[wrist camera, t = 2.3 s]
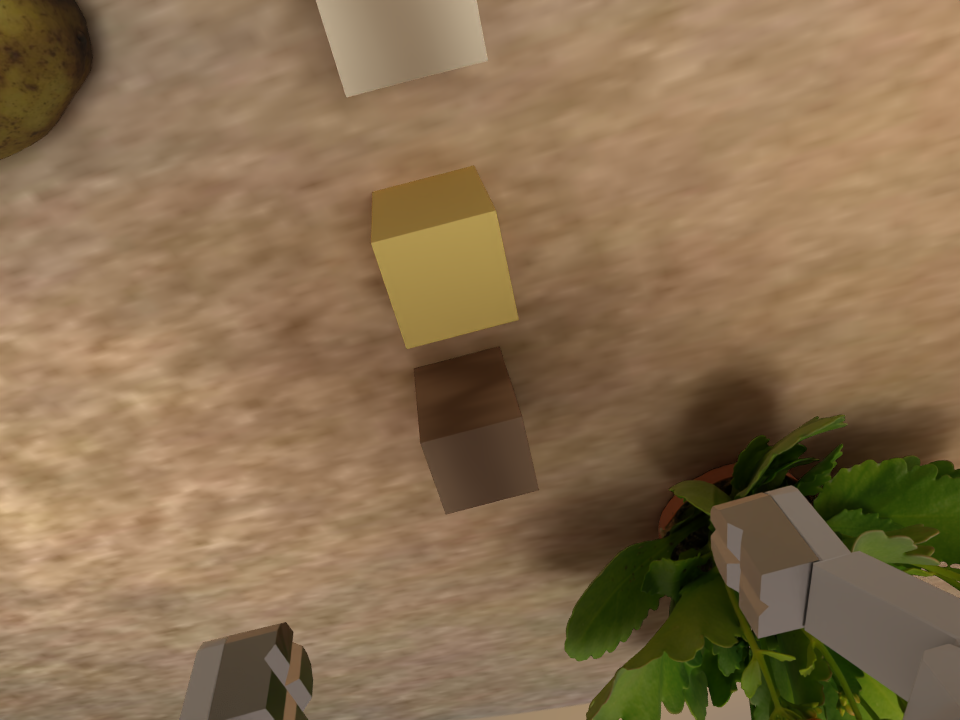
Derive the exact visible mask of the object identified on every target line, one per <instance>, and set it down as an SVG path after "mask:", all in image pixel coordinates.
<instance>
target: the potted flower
mask: <svg viewBox="0 0 960 720" xmlns="http://www.w3.org/2000/svg"><path fill="white" fill-rule="evenodd" d="M844 417H845V415H837V416H833V417H829V418H821V419H818V418H819V417H818V416H816V417H814V418H813V419H811V420H810V421H808V422H807V423H805V424H803V425H802V426H800V427H799V428H797V429H796V430H794V431H793V432H791V433H790V434H788V435H787V436H786V437H784V438H783V439H781V440H780V441H779V442H777V443H776V444H775V445H774V446H768V444H767V442H769V440H770V439H766V436H764V435H760V436H757V437H756V438H754V439H753V440H752V441H751V442H750V443H749V444H748V446H747V447H746V449H745V450H743V451H741V453H740V454H739V457H738V461H737V463H734V464H730V465H725V466H722V467H720V468H717V469H712V470H710V471H708V472H707V473H705V474H703V475H702V476H700V477H698V478H695V479H694V480H687V481H682V482H680V483H678V484H676V485H675V486H673V487H671V488H670V489H669V491H671V492H673V493H674V495H675V496H674V497H673V498H672V499H671V500H670V501H669V503H668V504H667V506H666V507H665V509H664V510H663V512H662V514H661V517H660V522H659V539H655V540H652V541H644V542H641V543H636V544H633V545H630V546H628V547H627V548H625V549H624V550H622V551H620V552H619V553H618V554H617V555H616V556H615V557H614V558H613V559H612V560H611V561H610V563H608V564H607V565H606V567H605V568H604V569H603V570H602V571H601V572H600V573H599V575H598V576H597V577H596V578H595V579H594V580H593V581H592V582H591V584H590V585H589V586H588V588H587V589H586V590H585V592H584V593H583V595H582V596H581V597H580V599H579V600H578V601H577V603H576V605H575V607H574V609H573V611H572V615H571V617H570V618H569V620H568V623H567V627H566V641H565V652H566V653H567V654H568V655H569V656H570V658H575V659H576V660H577V661H583V660H587V659H588V658H589V657H590V656H592V657H593V658H594V659H597V658H600V657H601V656H602V655H603V654H604V653H605V651H606V650H607V651H608V652H609V653H611V652H613V651H614V650H615V649H616V647H617V646H618V644H619V642H620V641H622V642H626V641H627V639H628V638H629V636H630V635H631V633H632V630H633V629H635V630H638V629H640V627H641V625H642V622H643V620H644V619H645V618H646V617H647V616H648V610H649V609H650V608H651V609H653V610H657V609H658V606H659V599H660V598H662V597H664V596H665V595H666V596H667V597H671V602H670V609H669V618H668V619H667V620H666V622H665V623H664V624H663V626H662V627H661V628H660V629H659V630H658V632H657V633H656V634H655V635H654V636H653V637H652V639H651V640H650V641H649V642H648V643H647V644H646V646H645V647H644V648H643V649H642V650H640V651H639V652H638V653H637V654H636V655H635V656H634V657H632V658H631V659H630V660H629V661H628V662H627V663H626V664H624V665H623V666H622V667H621V668H619V669H618V670H617V672H616V673H615V676H614V677H613V678H612V679H611V680H610V682H609V683H608V684H607V685H606V686H605V687H604V688H603V689H602V690H601V692H600V693H599V694H598V695H597V696H596V697H595V698H594V699H593V700H592V702H591V703H590V706H589V711H588V712H587V713H586V717H587V719H586V720H619V718H622V720H660V718H661V702H663V703H664V706H665V707H666V709H667V711H668V712H669V713H671V714H679V713H680V712H682V710H683V707H684V702H686V704H687V705H688V707H689V710H690V712H691V714H692V715H693V716H694V717H695V719H696V720H705V716H706V707H707V706H708V691H707V687H708V688H709V692H710V695H711V700H712V703H713V706H717V707H722V706H724V705H725V704H726V703H727V702H728V700H729V699H730V696H731V694H732V693H733V692H735V691H737V686H736V682H741V688H742V689H743V690H744V691H745V694H746V696H747V697H748V698H749V701H750V710H751V718H752V720H902V719H903V716H904V713H905V710H906V707H907V704H908V702H907V701H906V700H904V699H903V698H901V697H900V696H899V695H897V694H896V693H894V692H893V691H891V690H890V689H888V688H887V687H886V686H884V685H883V684H881V683H880V682H878V681H877V680H876V679H874V678H873V677H871V676H870V675H868V674H867V673H865V672H864V671H863V670H861V669H860V668H858V667H857V666H855V665H854V664H853V663H851V662H850V661H848V660H847V659H845V658H844V657H842V656H841V655H840V654H838V653H837V652H835V651H834V650H832V649H831V648H830V647H828V646H827V645H825V644H824V643H822V642H821V641H819V640H818V639H817V638H815V637H814V636H812V635H811V634H809V633H808V632H807V631H805V630H804V629H805V627H804V628H800V629H796V630H792V631H788V632H783V633H779V634H775V635H771V636H767V637H763V638H759V639H758V638H757V636H756V635H755V633H754V631H753V629H752V631H751V626H750V624H749V623H748V621H747V619H746V618H745V616H744V614H743V613H742V611H741V609H740V607H739V592H737V591H735V590H734V589H732V588H730V587H728V586H727V585H726V583H725V581H724V580H723V578H722V576H721V574H720V572H719V570H718V568H717V565H716V563H715V560H714V556H713V553H712V549H711V535H712V534H713V533H714V531H715V530H716V529H715V527H714V525H713V524H712V522H711V520H710V516H711V509H712V507H713V506H716V505H719V504H723V503H726V502H730V501H733V500H737V499H741V498H744V497H748V496H751V495H755V494H758V493H765V492H768V491H772V490H775V489H779V488H782V487H786V486H791V485H792V486H794V487H795V488H797V489H798V490H799V491H800V492H801V493H802V495H803V496H804V497H805V498H806V499H807V501H808V502H809V503H810V504H811V499H810V496H809V495H816V494H817V493H819V492H820V493H819V494H818V496H817V497H816V499H814V501H813V508H814V509H815V510H816V511H817V513H818V514H819V515H820V516H821V517H822V518H823V520H824V521H825V522H826V523H827V524H828V526H829V527H830V528H831V529H832V530H833V532H834V533H835V534H836V535H837V536H838V538H839V539H840V540H841V541H842V542H843V544H844V545H845V546H846V547H847V548H848V550H849V551H850V552H851V553H852V552H856V551H861V552H863V553H865V554H867V555H869V556H871V557H873V558H876V559H878V560H880V561H882V562H884V563H886V564H888V565H890V566H893V567H895V568H897V569H899V570H901V571H903V572H905V573H907V574H909V575H918V576H925V577H927V576H933V575H935V576H937V577H939V578H941V579H942V580H944V581H945V582H947V583H949V584H950V585H952V586H953V587H955V588H956V589H958V590H959V591H960V583H959V582H960V569H957V568H951V567H950V565H952V564H960V469H957V470H954V465H953V463H952V462H950V461H947V460H939V461H935V462H931V463H929V464H925V465H922V466H920V459H919V458H918V457H917V456H914V455H909V456H905V457H903V458H892V459H889V460H883V461H882V462H881V463H879V464H878V463H876V462H875V461H874V460H866V461H864V462H863V463H861V464H859V465H854V466H853V467H851V468H841V469H840V470H839V471H838V473H837V474H836V475H835V476H834V477H833V478H832V477H831V476H830V473H831V471H832V469H833V468H834V467H835V466H836V465H837V463H836V462H835V460H836V459H837V458H839V457H840V456H841V455H842V454H843V453H842V452H841V451H840V450H841V449H842V448H843V444H840V445H839V446H837V447H836V448H835V449H834V450H833V451H832V452H831V453H830V454H829V455H828V456H827V457H826V458H825V459H824V460H822V461H821V462H820V463H818V464H817V465H816V466H815V467H813V468H812V469H811V470H810V471H809V472H807V473H806V474H805V475H804V476H803V477H802V478H801V479H800V480H799V481H798V480H796V479H795V478H794V477H793V476H792V475H791V474H790V473H789V472H788V470H789V469H791V468H793V467H796V466H800V465H804V464H809V463H811V462H814V461H819V459H815V458H804V459H798V458H799V456H800V455H801V454H803V453H804V452H805V451H806V450H807V448H806V447H805V446H804V445H801V444H798V443H799V442H800V441H802V440H804V439H806V438H809V437H811V436H814V435H817V434H820V433H823V432H826V431H829V430H833V429H837V428H841V427H845V426H847V425H848V424H847V423H843V421H845V418H844ZM831 479H832V480H831ZM822 485H823V487H822V488H821V486H822ZM940 562H946V563H947V565H948V566H947V567H940V566H938V565H940ZM921 568H923V569H925V570H927V571H928V572H927V571H924V570H921ZM956 580H957V581H956ZM958 581H959V582H958ZM749 646H750V648H749Z"/></svg>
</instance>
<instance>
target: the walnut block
mask: <svg viewBox="0 0 960 720" xmlns="http://www.w3.org/2000/svg"><path fill="white" fill-rule="evenodd" d="M414 376H415V387H416V399H417V410H418V421H419V432H420V443H421V446H422V449H423V452H424V455H425V457H426V460H427V463H428V466H429V469H430V471H431V474H432V477H433V480H434V483H435V485H436V488H437V491H438V494H439V497H440V499H441V502H442V505H443V508H444V511H445V513H446V514H450V513H454V512H457V511H461V510H465V509H469V508H473V507H477V506H480V505H484V504H488V503H492V502H496V501H499V500H503V499H507V498H511V497H515V496H519V495H522V494H526V493H530V492H534V491H538V490H539V488H538V484H537V480H536V475H535V471H534V467H533V462H532V458H531V453H530V449H529V445H528V440H527V436H526V432H525V427H524V423H523V419H522V415H521V412H520V409H519V406H518V403H517V400H516V396H515V393H514V390H513V387H512V384H511V381H510V378H509V375H508V372H507V369H506V366H505V362H504V359H503V356H502V353H501V350H500V347H495V348H491V349H487V350H484V351H480V352H476V353H472V354H468V355H464V356H461V357H457V358H453V359H449V360H445V361H441V362H438V363H434V364H430V365H426V366H422V367H418V368H414Z"/></svg>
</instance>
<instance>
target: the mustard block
mask: <svg viewBox="0 0 960 720" xmlns="http://www.w3.org/2000/svg"><path fill="white" fill-rule="evenodd" d="M371 245H372V248H373V251H374V254H375V257H376V260H377V263H378V266H379V269H380V272H381V275H382V278H383V281H384V283H385V286H386V289H387V292H388V295H389V298H390V301H391V304H392V307H393V310H394V313H395V316H396V319H397V322H398V325H399V328H400V331H401V334H402V337H403V340H404V343H405V346H406V349H409V348H413V347H417V346H421V345H425V344H429V343H432V342H436V341H440V340H444V339H448V338H452V337H456V336H459V335H463V334H467V333H471V332H475V331H479V330H482V329H486V328H490V327H494V326H498V325H502V324H505V323H509V322H513V321H517V320H519V318H518V314H517V309H516V304H515V299H514V294H513V290H512V285H511V280H510V275H509V271H508V266H507V261H506V256H505V251H504V247H503V242H502V237H501V232H500V228H499V223H498V218H497V213H496V210H495V208H494V206H493V204H492V201H491V199H490V197H489V195H488V193H487V191H486V189H485V187H484V185H483V183H482V181H481V179H480V177H479V175H478V173H477V171H476V169H475V167H474V166H470V167H466V168H463V169H459V170H455V171H451V172H447V173H443V174H439V175H436V176H432V177H428V178H424V179H420V180H416V181H413V182H409V183H405V184H401V185H397V186H393V187H389V188H386V189H382V190H378V191H374V192H372V223H371Z"/></svg>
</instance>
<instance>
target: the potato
mask: <svg viewBox="0 0 960 720" xmlns="http://www.w3.org/2000/svg"><path fill="white" fill-rule="evenodd" d="M92 58H93V57H92V50H91V44H90V39H89V35H88V30H87V26H86V21H85V18H84V16H83V14H82V13H81V11H80V9H79V7H78V5H77V3H76V2H75V0H0V160H1V159H3V158H6V157H9V156H11V155H13V154H15V153H17V152H19V151H21V150H23V149H24V148H26V147H28V146H30V145H32V144H34V143H35V142H37V141H38V140H40V139H41V138H43V137H44V136H45V135H47V134H48V133H49V131H50V130H51V129H52V128H53V127H54V126H55V124H56V123H57V122H58V121H59V119H60V117H61V116H62V114H63V113H64V111H65V109H66V108H67V106H68V105H69V103H70V101H71V100H72V98H73V97H74V95H75V94H76V93H77V91H78V90H79V89H80V87H81V86H82V84H83V83H84V81H85V80H86V78H87V76H88V74H89V73H90V71H91V65H92Z"/></svg>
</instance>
